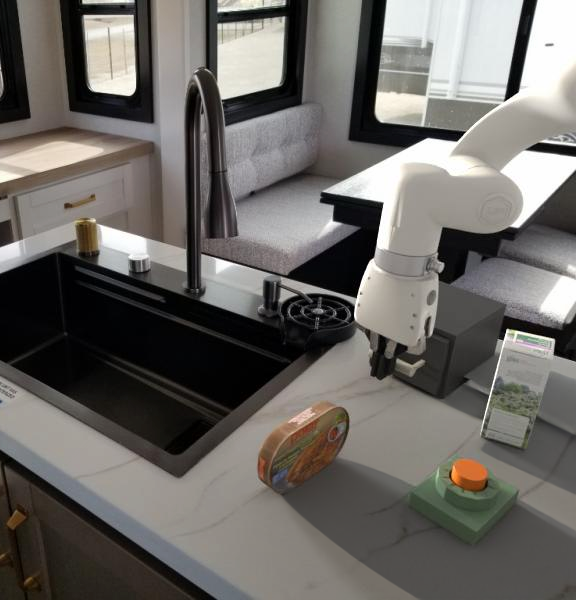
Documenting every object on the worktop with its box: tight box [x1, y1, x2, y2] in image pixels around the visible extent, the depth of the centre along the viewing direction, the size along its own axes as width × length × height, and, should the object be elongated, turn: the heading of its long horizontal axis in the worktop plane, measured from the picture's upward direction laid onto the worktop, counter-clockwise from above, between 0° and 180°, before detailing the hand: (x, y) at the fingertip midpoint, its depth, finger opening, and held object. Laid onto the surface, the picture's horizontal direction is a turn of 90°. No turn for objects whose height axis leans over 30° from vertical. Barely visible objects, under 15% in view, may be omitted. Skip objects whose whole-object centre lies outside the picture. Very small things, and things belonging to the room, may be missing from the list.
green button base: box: [407, 454, 520, 547], centre depth 74 cm, size 10×8×4 cm
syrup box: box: [479, 328, 556, 450], centre depth 84 cm, size 6×6×14 cm
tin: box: [256, 400, 350, 495], centre depth 79 cm, size 15×3×8 cm, turn 129°
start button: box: [451, 458, 488, 492], centre depth 73 cm, size 4×4×2 cm
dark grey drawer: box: [367, 332, 451, 396], centre depth 98 cm, size 18×12×9 cm, turn 130°
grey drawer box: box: [391, 280, 508, 400], centre depth 100 cm, size 15×13×11 cm
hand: (380, 374), depth 92 cm, fingers closed
